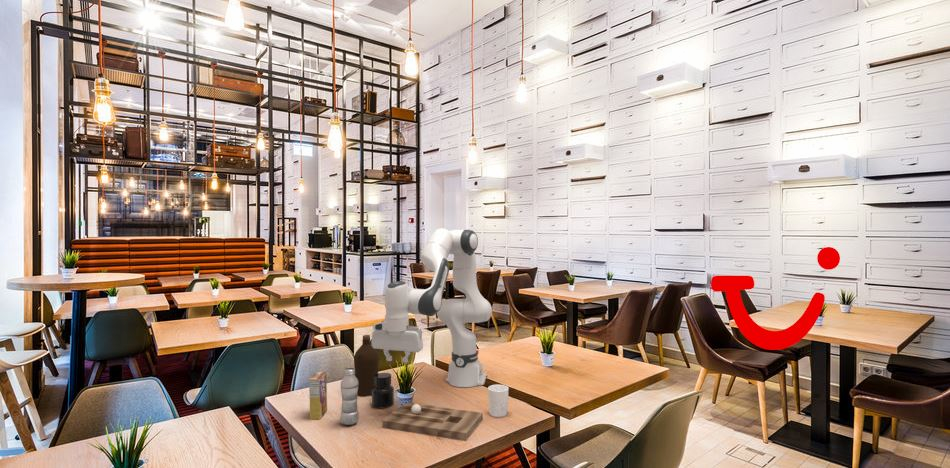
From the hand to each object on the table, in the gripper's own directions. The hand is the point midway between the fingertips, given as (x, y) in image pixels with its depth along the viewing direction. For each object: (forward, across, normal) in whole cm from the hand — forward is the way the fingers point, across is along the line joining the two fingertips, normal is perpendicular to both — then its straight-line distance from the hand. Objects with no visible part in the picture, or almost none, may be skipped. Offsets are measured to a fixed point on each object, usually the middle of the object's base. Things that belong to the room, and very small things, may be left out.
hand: (397, 361), depth 168 cm
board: (+21, -15, 0) cm, 26 cm away
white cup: (+21, -35, -16) cm, 44 cm away
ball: (+17, -8, 0) cm, 19 cm away
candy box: (+21, +30, +7) cm, 38 cm away
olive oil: (+21, +26, -20) cm, 39 cm away
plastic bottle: (+21, +14, +10) cm, 27 cm away
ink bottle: (+21, +12, -10) cm, 27 cm away
